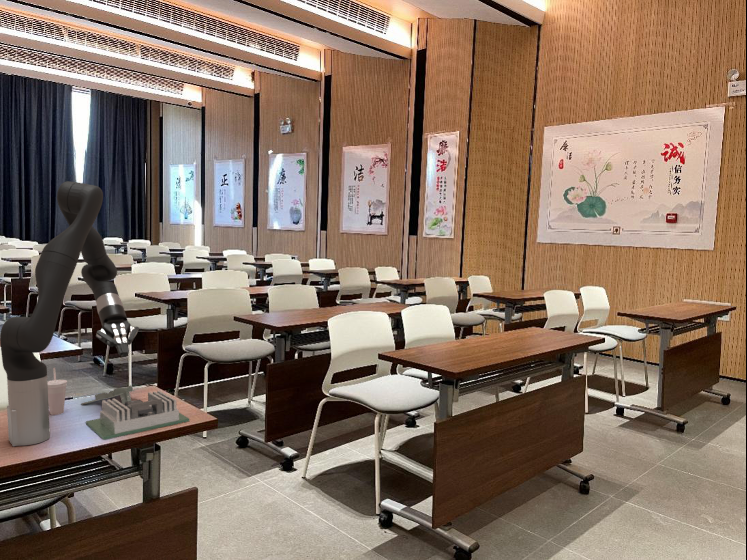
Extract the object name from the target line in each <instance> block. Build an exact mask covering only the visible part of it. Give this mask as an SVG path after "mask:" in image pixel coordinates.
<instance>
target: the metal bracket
mask: <svg viewBox="0 0 747 560" xmlns="http://www.w3.org/2000/svg"><path fill="white" fill-rule="evenodd" d="M138 390H139V388H137V389H133V385H131V384H130V385H128V386H127V387H123V386H122V387H118V388H114V389H113V390H110V391H109V392H100V393H96V394H95V395H94V398H95V399H92V400H88V401H86V402H85V401H84V402H82V403H80V406H82V405H86V404H91V403H94V402H97V401H103V400H108V399H111V398H115V397H118V396H119V397H120V403H122V404H124V405H125V402H129V401H132V398H131V392H135V391H138Z"/></svg>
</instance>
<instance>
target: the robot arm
mask: <svg viewBox="0 0 747 560" xmlns="http://www.w3.org/2000/svg"><path fill="white" fill-rule="evenodd" d="M103 199H104V192H103V190H102V189H101V188H100V187H99V186H97V185H93V184H88V183H83V182H75V181H64V182H62V183H61V184H60V185H59V187H58V190H57V193H56V200H57V205H58V207H59V209H60V212H61V214H62V215H63V217H64V219H65V220H66V222H67V224H68V227H67V228H65V230H63V231H62V232H60V233H59V234H58V235H56V236H55V237H54V238H52V239H50V241H48V243H46V245H44V247H43V248H42V251H41V253H40V255H39V258H38V260H37V263H36V265H35V271H34V277H35V281H36V287H37V294H38V295H37V301H36V305H35V307H34V309H33V312H32V314H31V316H30V317H29V316H28V317H27V316H13V317H10V318H9V319H7V320H5V322H4V323H3V325H2V326H1V329H0V352H1V360H2V361H1V363H2V367H3V370H4V371H5V373H6V379H7V380H6V381H7V383H6V385H7V400H8V404H7V405H6V411H7V412H6V413H7V429H8V430H7V433H8V434H7V435H8V441H10V442H9V443H10V444H12V445H11V446H12V447H17V446H18V447H19V446H30V445H36V444H39V443H43V442H45V441H47V440H49V439H50V437H51V428H50V427H51V425H50V411H49V404H48V368H47V365H46V364H45V363H44V362H42V361H41V360H39V359H38V357H36V356H35V355H34V354H35V353H41V352H43V351H45V350H46V349H47V348H48V346H49V345H50V344H51V342H52V339H53V336H54V333H55V330H56V326H57V323H58V318H59V315H60V311H61V307H62V305H63V301H64V298H65V295H66V292H67V289H68V286H69V284H70V282H71V279H72V277H73V275H74V272H75V269H76V267H77V264H78V263H79V262H78V261H79V258H80V256H81V255H82V256H81V257H82V259H83V261H84V262H85V264H84V265H83V266H82V268H81V271H80V273H81V277H82V279H83V280H84V282H85V283H86V284H87V286H88V287H89V288H90V290H91V292H92V293H93V296H94V299H95V300H94V301H95V303H96V310H97V314H98V317H99V320H100V323H101V329H100V330H97V331H96V333H95V334H96V335H95V338H96V339H98V340H99V341H101V342H102V343H104V344H105V345H107V346H108V347H110V348H113V347H115V348H116V350H117V354H118V355H119V356H120V357H121V358H125V357H128V355H129V352H130V348H129V346H130V345H131V344H132V342H133V341H134V339H135V337H136V336H137V334H138V332H139V330H140V329H139V326H135V327H134V326H132V325H131V323H130V322H129V321H128V317H127V314H126V311H125V308H124V304H123V302H122V299H121V298H120V295H119V291H118V288H117V286H116V284H115V283H114V282H113V281H112V280H114V279H115V278H116V277H117V276H118V275H117V274H118V269H117V266H116V265H115V263H114V262H113V260H111V258H110V257H109V255H108V253H107V251H106V247H105V244H104V240H103V237H102V235H101V234H100V233H99V231H98V230H96V228H94V226H93V225H94V223H95V222H96V219H97V217H98V215H99V213H100V210H101V208H102V206H103ZM128 332H129V336H128V338H127V335H128Z"/></svg>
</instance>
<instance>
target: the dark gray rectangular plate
mask: <svg viewBox="0 0 747 560" xmlns="http://www.w3.org/2000/svg"><path fill="white" fill-rule="evenodd" d="M141 402H143V401H142V400H141V399H134V400H131V401H129V402H125V404H124V405H125V406H127V405H131V404H136V403H141ZM148 412H153V408H152V407H151V406H149V405H148V406H142V407H138V414H143V413H148Z"/></svg>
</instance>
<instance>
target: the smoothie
mask: <svg viewBox="0 0 747 560" xmlns="http://www.w3.org/2000/svg"><path fill="white" fill-rule="evenodd" d="M52 371H53V379H52V380H47V382H48V404H49V415H51V416H56V415H57V416H58V415H61V414H63V413H64V412H65V403H66V390H67V385H68V380H66V379H57V373H56V367H53V370H52Z"/></svg>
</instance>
